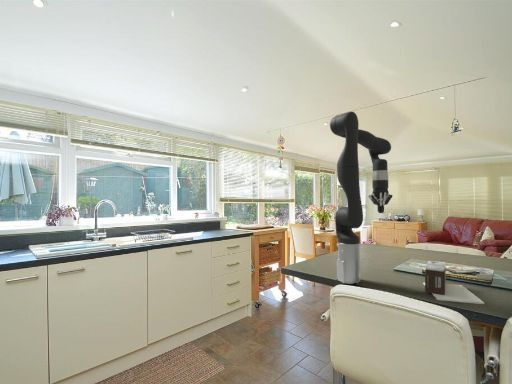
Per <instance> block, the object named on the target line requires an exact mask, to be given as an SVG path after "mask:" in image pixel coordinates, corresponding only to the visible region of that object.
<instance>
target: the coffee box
mask: <svg viewBox="0 0 512 384" xmlns="http://www.w3.org/2000/svg"><path fill="white" fill-rule="evenodd" d="M424 278H425V279H424V283H425V285H424V291H425V293H428V294H429V293H430V294H432V293H434V294H442V295H445V284H446V282H447V281H446V279H447V278H446V262H444V261H435V260H428V261H427V263H426V266H425V270H424Z"/></svg>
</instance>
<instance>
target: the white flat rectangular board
mask: <svg viewBox="0 0 512 384" xmlns="http://www.w3.org/2000/svg"><path fill="white" fill-rule="evenodd" d="M422 285H424V286H425V281H424V282H423V283H422ZM431 295H433V297H434V298H435V299H436V300H437V301H444V302H455V303H457V302H458V303H465V304H466V303H467V304H477V305H485V302H484V301H483V300H481V299H480V298H479V297H478V296H476V295H475V294H474V293H472V292H471V291H470V290H468V288H466V287H464V285H462V284H461V285H460V284H450V283H449V284H448V283H445V295H442V294H434V293H431Z"/></svg>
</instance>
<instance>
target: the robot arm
mask: <svg viewBox="0 0 512 384" xmlns="http://www.w3.org/2000/svg"><path fill="white" fill-rule="evenodd" d="M329 128H330V131H331V132H332V133H333V134H334V135H335V136H337V137H341V138H343V139H345V141H344V142H345V143H344V146H343V149H342V151H341V153H340V155H339V158H338V160H337V163H336V173H337V181H338V183H339V185H340V187H341V189H342V190H343V192H344V193H345V196H346V200H347V201H346V203H347V206H341V207H339V208H338V209H337V210H336V212H335V216H334V223H335V235H336V238H337V244H338V245H337V246H338V247H337V249H338V251H337V254H338V255H337V256H338V258H336V280H337V279H338V281H339V282H341V283H342V284H348V285H353V284H354V283H357V284H360V283H361V253H360V252H361V249H360V248H361V247H360V246H361V245H360V244H361V243H360V240H361V239H360V236H359V235H358V234H355V232H354V230H353V229H359V228H360V227H361V226H362V225H363V222H364V212H363V204H362V198H361V197H362V196H361V189H360V186H361V185H360V166H359V150H358V149H359V148H358V147H359V145H360V146H362V147H363V148H365V149H367V150H368V153H369V157H370V160H371V163H372V174H371V175H372V176H371V177H372V179H371V180H372V183H371V184H372V186H371V187H372V193H371V194H370V195H368V198H369V200H370V201H371V202H372V203H373V205H376V206H377V213H378V214H384V212H385V206H386V205H389V203H390V201H391V200H392V198H393V194H390V193H389V171H388V160H387V159H384V158H380V157H379V156H381V155H382V156H383V155H386V154H388V153H390V152H391V150H392V145H391V142H390V141H389V140H387V139H385V138H383V137H380V136H379V137H378V136H376V135H374V134H373V133H372V132H369V131H367V130H363V129H359V119H358V115H357V114H356V112H355V111H348V112H344V113H340V114H338V115H335V116H334V117H332V118H331V119H330V122H329ZM358 144H359V145H358ZM359 282H360V283H359Z"/></svg>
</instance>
